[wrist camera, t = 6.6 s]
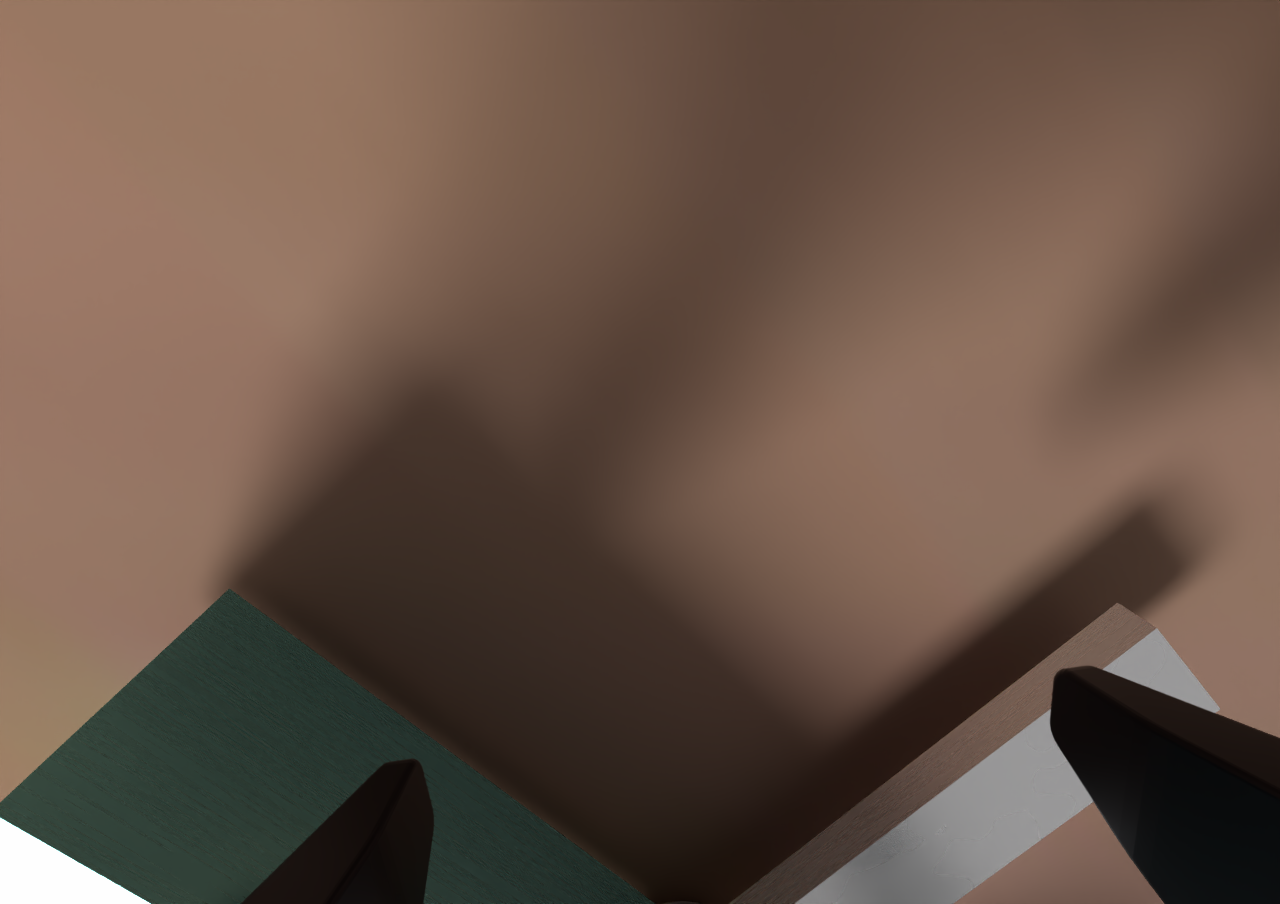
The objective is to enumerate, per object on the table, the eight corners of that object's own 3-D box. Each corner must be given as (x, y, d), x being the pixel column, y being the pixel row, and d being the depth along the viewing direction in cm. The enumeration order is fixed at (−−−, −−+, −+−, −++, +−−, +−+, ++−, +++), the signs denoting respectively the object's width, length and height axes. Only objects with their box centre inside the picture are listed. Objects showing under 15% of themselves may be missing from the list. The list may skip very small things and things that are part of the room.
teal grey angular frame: (701, 113, 9) (820, -37, 5) (1136, 650, 13) (1471, 890, 8) (166, 653, 11) (-152, 956, 6) (672, 1002, 14) (716, 1373, 10)
